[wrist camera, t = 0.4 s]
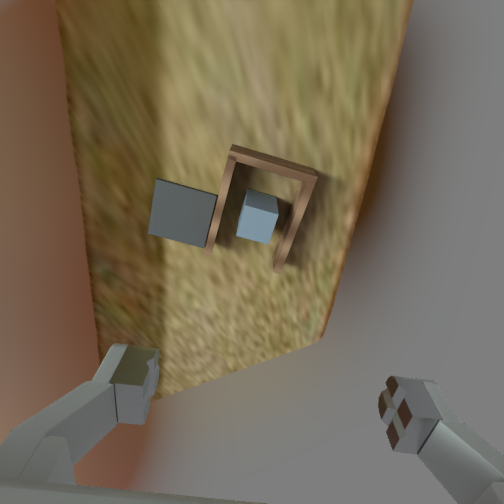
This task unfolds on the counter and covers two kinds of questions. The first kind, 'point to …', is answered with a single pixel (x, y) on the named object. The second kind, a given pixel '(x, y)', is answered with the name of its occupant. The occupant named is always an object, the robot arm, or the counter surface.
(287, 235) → the frame
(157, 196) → the pad
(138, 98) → the counter surface
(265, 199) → the block
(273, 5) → the counter surface
